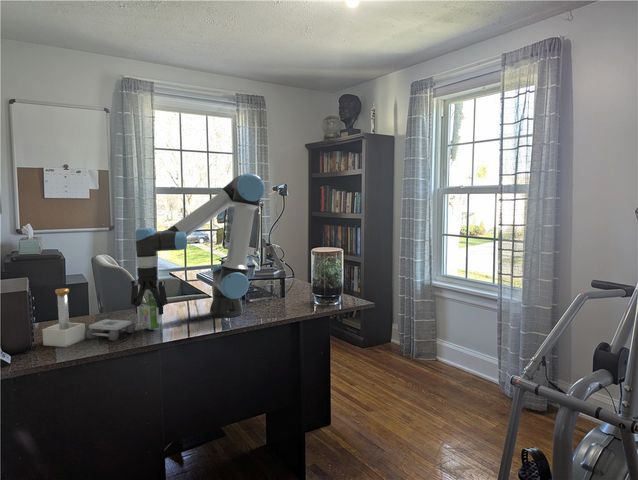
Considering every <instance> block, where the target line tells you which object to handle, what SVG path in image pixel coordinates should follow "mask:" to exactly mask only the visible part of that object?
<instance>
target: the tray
mask: <svg viewBox="0 0 638 480" xmlns="http://www.w3.org/2000/svg"><path fill="white" fill-rule="evenodd" d="M85 332H86V324H85V323H84V322H83V323H81V322H80V323H79V322H69V329H66V330H59V323H56V324H53V325H50V326H48V327H45V328H42V344H43V346H48V347H49V346H50V347H59V348H68V347H70V346H73V345H74V344H76V343H79V342H81V341H84V340H86V339H87V338H86V337H85Z"/></svg>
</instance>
